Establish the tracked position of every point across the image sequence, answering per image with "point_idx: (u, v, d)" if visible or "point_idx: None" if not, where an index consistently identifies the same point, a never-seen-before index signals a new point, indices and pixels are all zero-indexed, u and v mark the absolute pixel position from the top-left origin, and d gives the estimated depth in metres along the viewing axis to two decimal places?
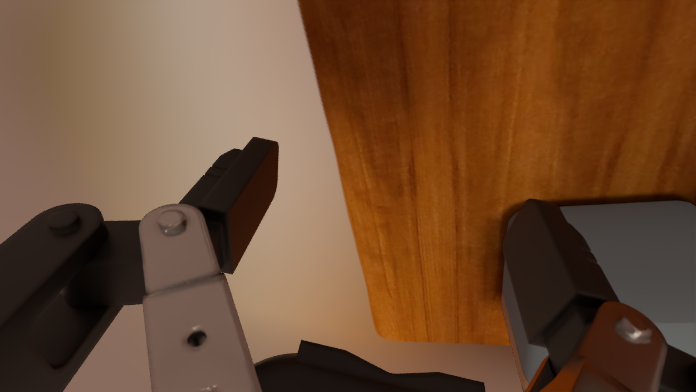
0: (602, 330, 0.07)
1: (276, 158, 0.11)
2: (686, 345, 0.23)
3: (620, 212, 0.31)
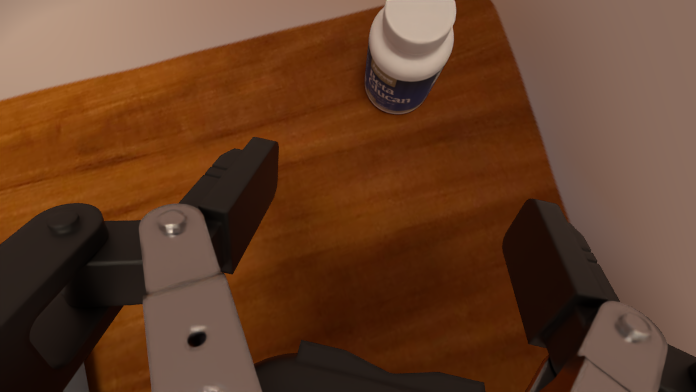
0: (602, 330, 0.07)
1: (276, 158, 0.11)
2: None
3: None
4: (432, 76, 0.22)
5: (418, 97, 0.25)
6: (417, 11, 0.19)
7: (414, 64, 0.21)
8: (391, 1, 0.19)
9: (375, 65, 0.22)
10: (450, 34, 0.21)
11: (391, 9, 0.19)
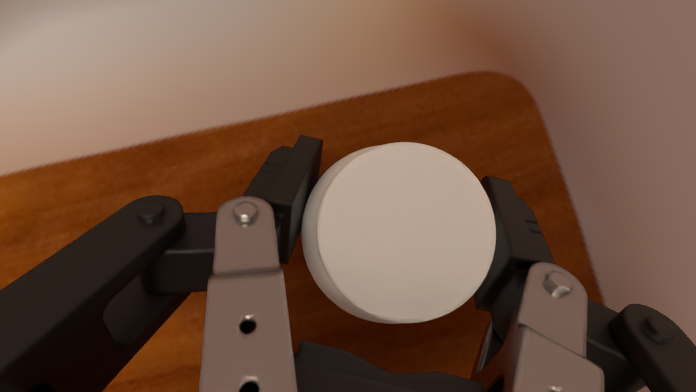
0: (534, 293, 0.07)
1: (320, 155, 0.11)
2: None
3: None
4: None
5: None
6: (398, 235, 0.07)
7: None
8: (333, 207, 0.07)
9: None
10: None
11: (332, 229, 0.07)
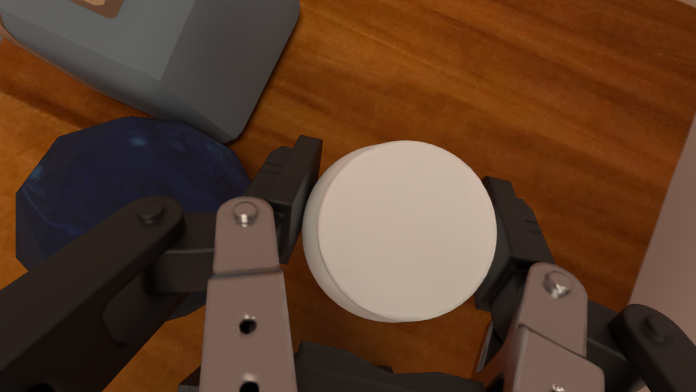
0: (534, 293, 0.07)
1: (320, 155, 0.11)
2: None
3: (263, 78, 0.31)
4: None
5: None
6: (399, 233, 0.07)
7: None
8: (334, 206, 0.07)
9: None
10: None
11: (333, 227, 0.07)
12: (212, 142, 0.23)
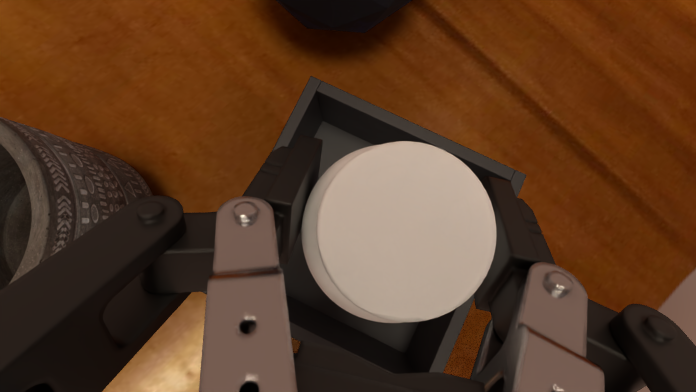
0: (534, 293, 0.07)
1: (320, 155, 0.11)
2: None
3: None
4: None
5: None
6: (398, 234, 0.07)
7: None
8: (333, 206, 0.07)
9: None
10: None
11: (332, 228, 0.07)
12: None
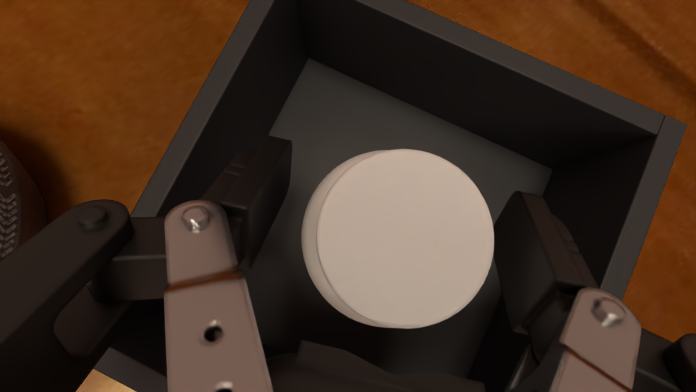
0: (580, 317, 0.07)
1: (290, 157, 0.11)
2: None
3: None
4: None
5: None
6: (397, 241, 0.07)
7: None
8: (333, 214, 0.08)
9: None
10: None
11: (332, 235, 0.07)
12: None
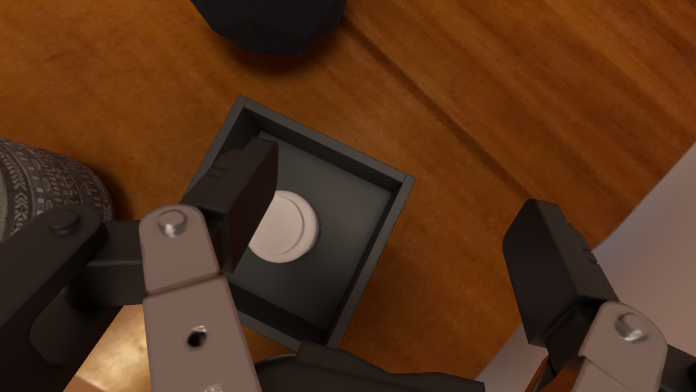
0: (602, 330, 0.07)
1: (276, 158, 0.11)
2: None
3: None
4: (298, 257, 0.26)
5: None
6: (269, 226, 0.22)
7: (276, 255, 0.24)
8: None
9: None
10: (310, 228, 0.25)
11: None
12: None
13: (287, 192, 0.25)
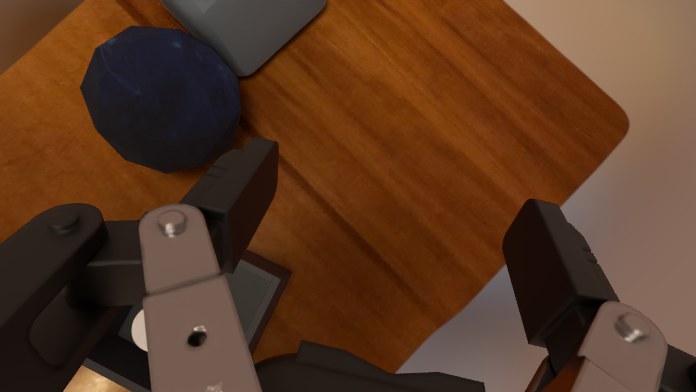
0: (602, 330, 0.07)
1: (276, 158, 0.11)
2: None
3: (280, 40, 0.42)
4: None
5: None
6: None
7: None
8: (136, 323, 0.30)
9: None
10: None
11: (135, 328, 0.30)
12: (223, 65, 0.34)
13: None
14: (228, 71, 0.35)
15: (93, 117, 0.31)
